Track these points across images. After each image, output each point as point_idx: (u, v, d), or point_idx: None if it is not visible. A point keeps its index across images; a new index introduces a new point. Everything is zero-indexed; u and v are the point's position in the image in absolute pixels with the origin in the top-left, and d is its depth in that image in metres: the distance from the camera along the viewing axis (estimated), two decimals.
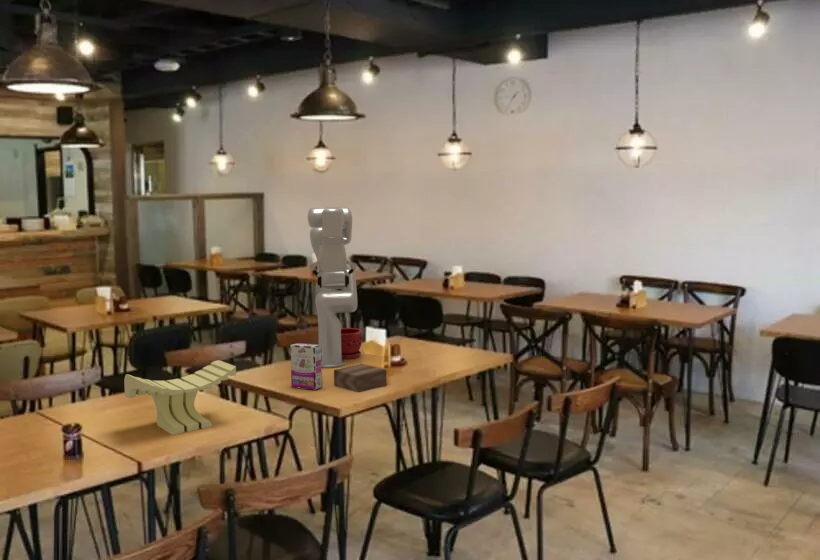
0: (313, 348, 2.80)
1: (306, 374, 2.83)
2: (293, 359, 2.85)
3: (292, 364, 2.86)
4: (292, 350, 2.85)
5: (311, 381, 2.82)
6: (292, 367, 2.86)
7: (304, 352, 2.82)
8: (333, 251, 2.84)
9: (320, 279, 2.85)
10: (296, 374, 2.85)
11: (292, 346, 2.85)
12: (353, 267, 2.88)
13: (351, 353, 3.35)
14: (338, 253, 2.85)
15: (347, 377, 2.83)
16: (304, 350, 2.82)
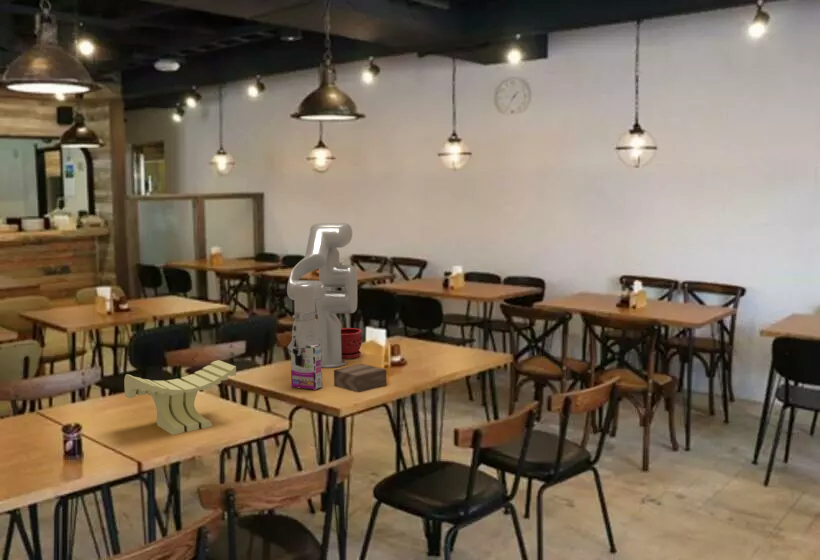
0: (313, 348, 2.80)
1: (306, 374, 2.83)
2: (292, 359, 2.85)
3: (292, 364, 2.86)
4: None
5: (311, 381, 2.82)
6: (292, 367, 2.86)
7: (304, 352, 2.82)
8: None
9: None
10: (296, 374, 2.85)
11: None
12: None
13: (351, 353, 3.35)
14: None
15: (347, 377, 2.83)
16: (304, 350, 2.82)
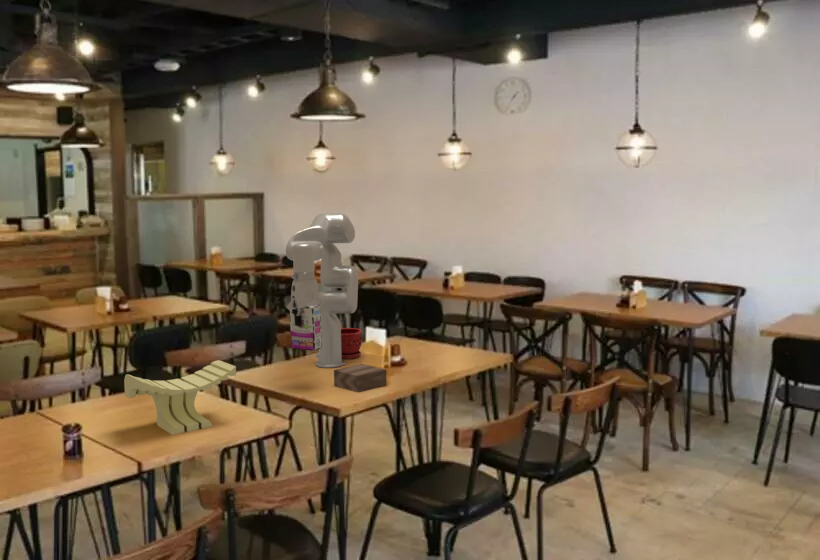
0: (312, 308, 2.79)
1: (305, 335, 2.82)
2: (292, 320, 2.84)
3: (291, 325, 2.85)
4: None
5: (310, 341, 2.81)
6: (291, 328, 2.85)
7: (303, 313, 2.81)
8: None
9: None
10: (295, 335, 2.84)
11: None
12: None
13: (351, 353, 3.35)
14: None
15: (347, 377, 2.83)
16: (303, 310, 2.81)
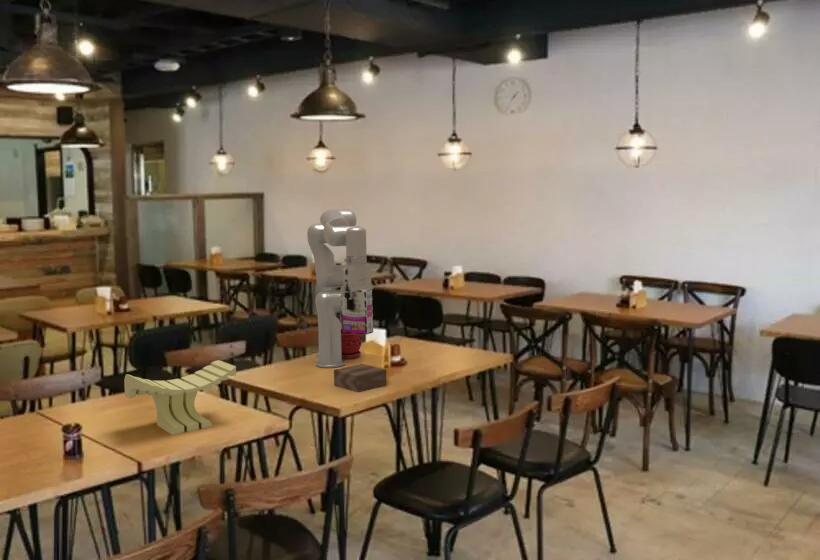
0: (364, 292, 2.80)
1: (357, 319, 2.83)
2: (343, 304, 2.86)
3: (343, 309, 2.86)
4: None
5: (362, 325, 2.82)
6: (343, 312, 2.86)
7: (355, 297, 2.83)
8: None
9: None
10: (347, 319, 2.85)
11: None
12: None
13: (351, 353, 3.35)
14: None
15: (347, 377, 2.83)
16: (355, 294, 2.82)
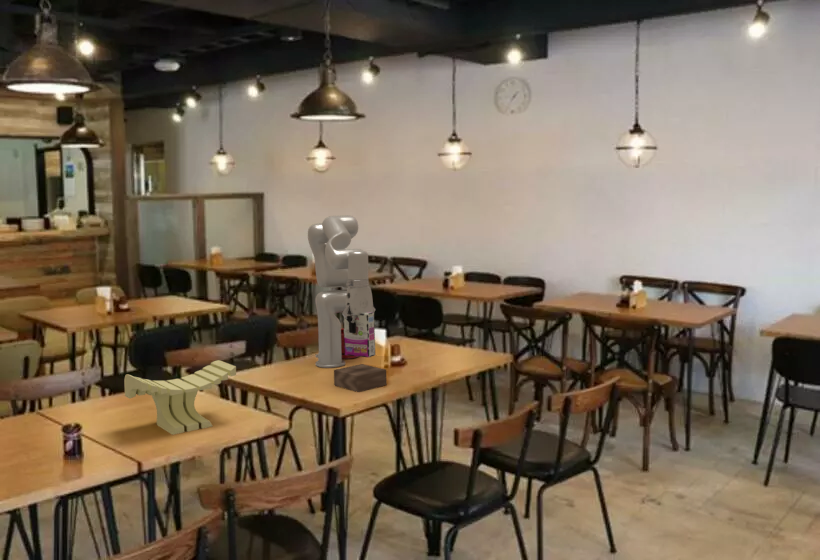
0: (366, 315, 2.81)
1: (359, 341, 2.84)
2: (346, 326, 2.86)
3: (345, 332, 2.87)
4: None
5: (364, 348, 2.83)
6: (345, 335, 2.87)
7: (357, 320, 2.83)
8: None
9: None
10: (349, 342, 2.86)
11: None
12: None
13: None
14: None
15: (347, 377, 2.83)
16: (357, 317, 2.83)
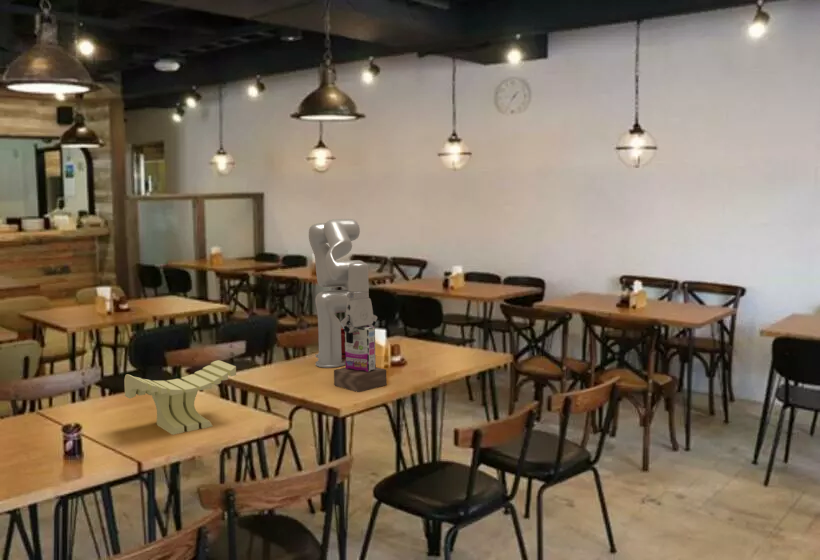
0: (367, 330, 2.82)
1: (360, 356, 2.85)
2: None
3: (346, 346, 2.88)
4: None
5: (364, 362, 2.84)
6: (346, 349, 2.88)
7: (358, 334, 2.85)
8: None
9: None
10: (350, 356, 2.88)
11: None
12: None
13: None
14: None
15: (347, 377, 2.83)
16: (358, 332, 2.85)
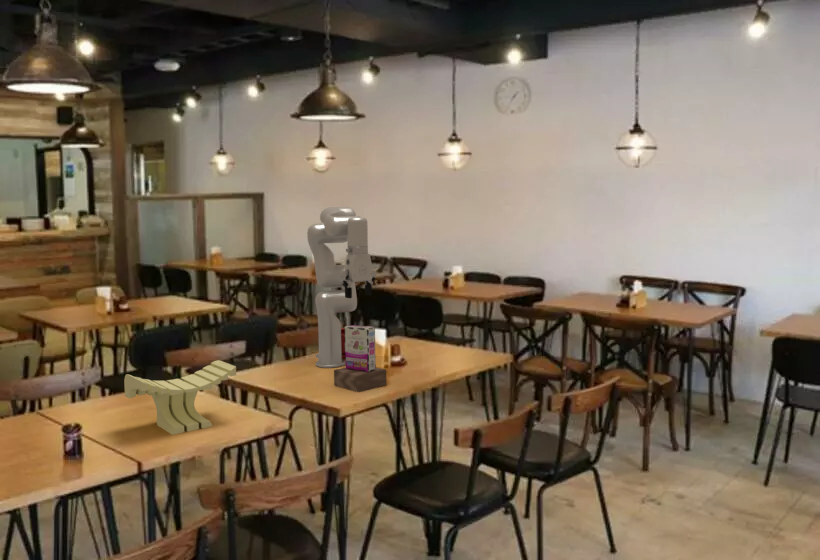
0: (367, 330, 2.82)
1: (360, 356, 2.85)
2: (347, 341, 2.88)
3: (346, 346, 2.88)
4: (346, 332, 2.88)
5: (364, 362, 2.84)
6: (346, 349, 2.88)
7: (358, 334, 2.85)
8: None
9: (365, 286, 2.89)
10: (350, 356, 2.88)
11: (346, 328, 2.87)
12: None
13: None
14: None
15: (347, 377, 2.83)
16: (358, 332, 2.85)
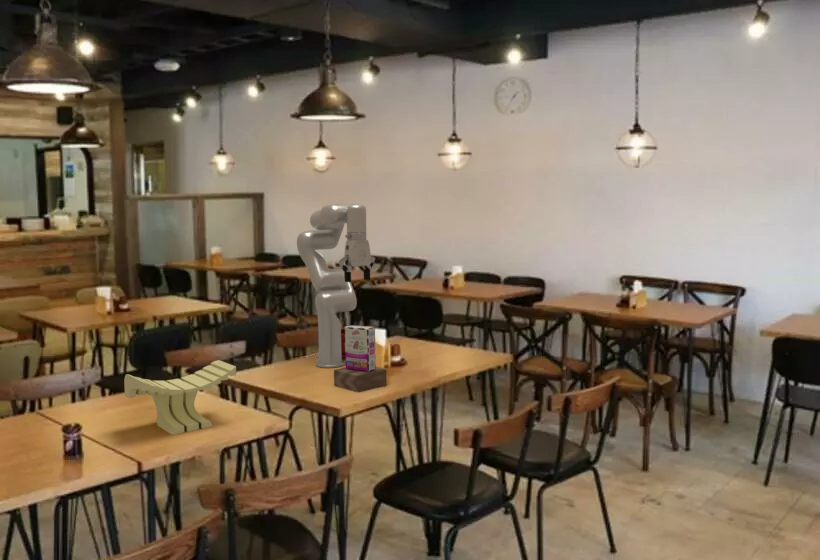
0: (367, 330, 2.82)
1: (360, 356, 2.85)
2: (347, 341, 2.88)
3: (346, 346, 2.88)
4: (346, 332, 2.88)
5: (364, 362, 2.84)
6: (346, 349, 2.88)
7: (358, 334, 2.85)
8: None
9: (364, 271, 3.01)
10: (350, 356, 2.88)
11: (346, 328, 2.87)
12: None
13: None
14: None
15: (347, 377, 2.83)
16: (358, 332, 2.85)
